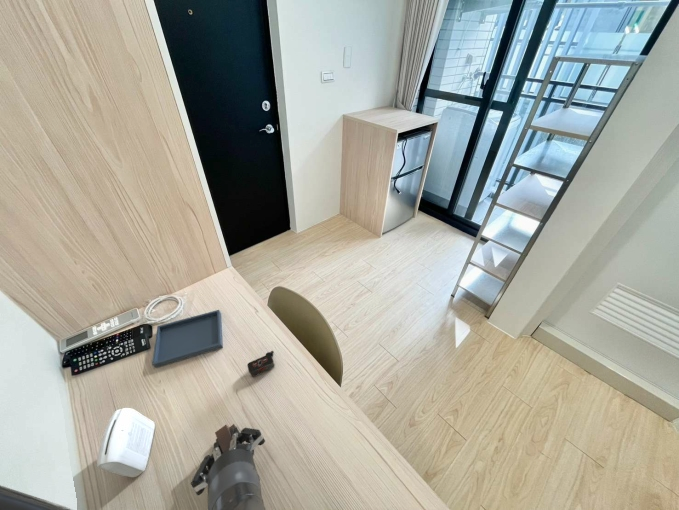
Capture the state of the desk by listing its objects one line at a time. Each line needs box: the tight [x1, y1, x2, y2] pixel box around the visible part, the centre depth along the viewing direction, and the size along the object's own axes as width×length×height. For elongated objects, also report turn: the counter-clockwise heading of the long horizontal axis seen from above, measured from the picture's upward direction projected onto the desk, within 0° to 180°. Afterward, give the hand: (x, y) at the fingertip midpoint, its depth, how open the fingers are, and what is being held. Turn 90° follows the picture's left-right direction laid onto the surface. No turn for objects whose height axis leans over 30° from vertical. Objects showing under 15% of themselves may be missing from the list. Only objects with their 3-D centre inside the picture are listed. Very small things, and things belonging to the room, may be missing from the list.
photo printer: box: [96, 407, 156, 478], centre depth 55 cm, size 10×4×12 cm, turn 15°
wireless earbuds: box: [246, 350, 276, 378], centre depth 72 cm, size 5×7×3 cm, turn 117°
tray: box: [151, 309, 224, 369], centre depth 78 cm, size 17×12×2 cm
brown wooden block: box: [214, 423, 245, 453], centre depth 57 cm, size 8×4×7 cm, turn 38°
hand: (226, 436), depth 58 cm, fingers closed on brown wooden block, 2 cm apart
